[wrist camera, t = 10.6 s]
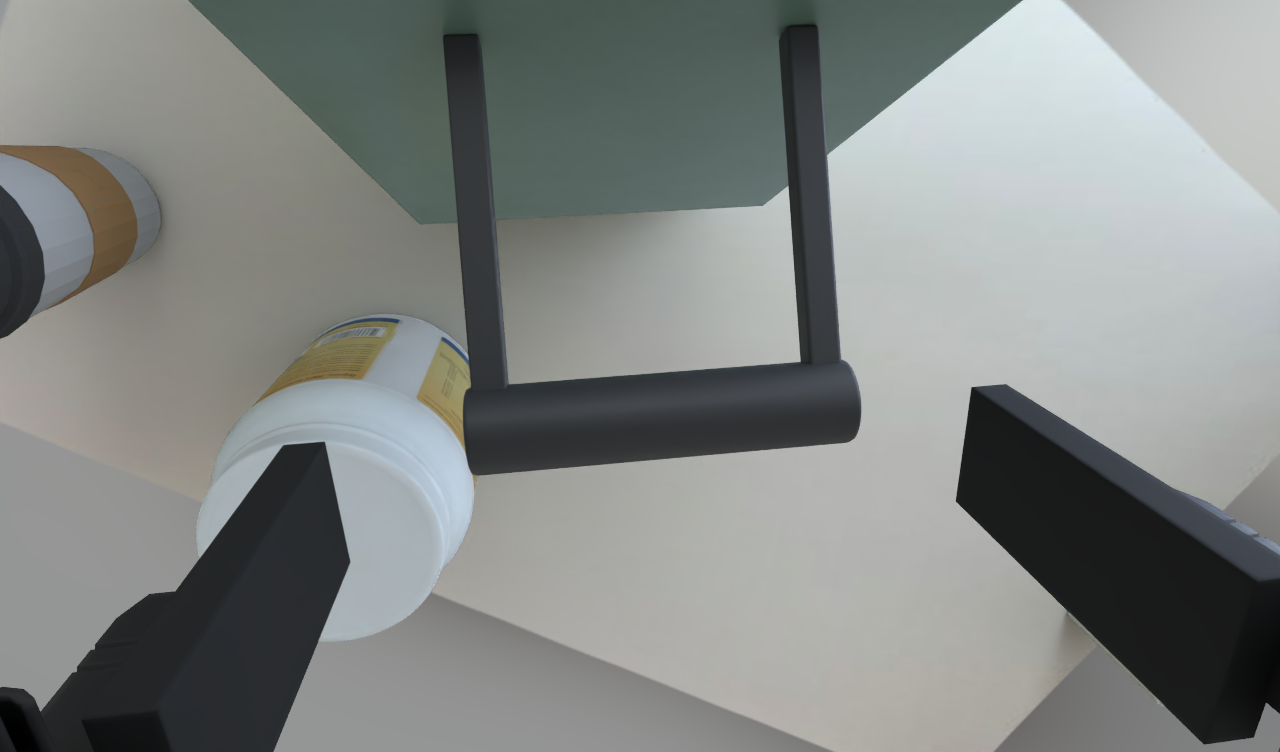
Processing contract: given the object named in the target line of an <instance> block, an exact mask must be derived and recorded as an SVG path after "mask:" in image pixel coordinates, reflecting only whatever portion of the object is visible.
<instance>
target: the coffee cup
mask: <svg viewBox="0 0 1280 752" xmlns="http://www.w3.org/2000/svg"><path fill="white" fill-rule="evenodd" d="M160 225H161V224H160V207H159V204H158V201H157V198H156V195H155V193H154V191H153V190H152V188H151V186H150V185H149V183H148V182H147V180H146V179H145V178H144V177H143V176H142V175H141V174H140V173H139V172H138V171H137V170H136V169H135V168H134V167H133V166H131V165H130V164H128V163H127V162H125V161H124V160H122V159H121V158H119V157H117V156H114V155H112V154H109V153H107V152H104V151H100V150H93V149H87V148H65V147H60V146H12V145H0V339H1V338H3V337H6V336H8V335H10V334H11V333H12V332H13V331H15V330H16V329H17V328H19V327H20V326H21V325H22V324H24V323H25V322H26V321H27V320H28V319H29V318H31V317H32V316H34V315H36V314H38V313H40V312H41V311H44V310H46V309H49V308H51V307H53V306H56V305H58V304H60V303H62V302H64V301H66V300H68V299H69V298H71V297H73V296H75V295H77V294H78V293H80V292H82V291H84V290H86V289H87V288H89V287H91V286H93V285H95V284H96V283H98V282H100V281H102V280H103V279H105V278H107V277H109V276H111V275H112V274H114V273H116V272H117V271H118V270H119V269H121V268H122V267H123V266H125V265H127V264H129V263H131V262H133V261H134V260H136V259H138V258H139V257H141V256H142V255H143V254H145V253H146V252H147V251H148V250H149V249H150V248H151V246H152V245H153V244H154V242H155V241H156V239H157V236H158V232H159V229H160Z"/></svg>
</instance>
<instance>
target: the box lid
mask: <svg viewBox="0 0 1280 752" xmlns="http://www.w3.org/2000/svg"><path fill="white" fill-rule="evenodd" d="M188 1H189V2H190V3H191V4H192V5H193V6H194V7H195V8H196V9H197V10H199V11H200V12H201V13H202V14H203V15H204V16H205V17H206V18H207V19H208V20H209V21H210V22H211V23H212V24H213V25H214V26H215V27H216V28H217V29H218V30H219V31H220V32H221V33H222V34H223V35H224V36H225V37H226V38H228V39H229V40H230V41H231V42H232V43H233V44H234V45H235V46H236V47H237V48H238V49H239V50H240V51H241V52H242V53H243V54H244V55H245V56H246V57H247V58H248V59H249V60H250V61H251V62H252V63H253V64H254V65H255V66H257V67H258V68H259V69H260V70H261V71H262V72H263V73H264V74H265V75H266V76H267V77H268V78H269V79H270V80H271V81H272V82H273V83H274V84H275V85H276V86H277V87H278V88H279V89H280V90H281V91H282V92H283V93H284V94H286V95H287V96H288V97H289V98H290V99H291V100H292V101H293V102H294V103H295V104H296V105H297V106H298V107H299V108H300V109H301V110H302V111H303V112H304V113H305V114H306V115H307V116H308V117H309V118H310V119H311V120H312V121H313V122H314V123H316V124H317V125H318V126H319V127H320V128H321V129H322V130H323V131H324V132H325V133H326V134H327V135H328V136H329V137H330V138H331V139H332V140H333V141H334V142H335V143H336V144H337V145H338V146H339V147H340V148H341V149H342V150H343V151H345V152H346V153H347V154H348V155H349V156H350V157H351V158H352V159H353V160H354V161H355V162H356V163H357V164H358V165H359V166H360V167H361V168H362V169H363V170H364V171H365V172H366V173H367V174H368V175H369V176H370V177H371V178H372V179H374V180H375V181H376V182H377V183H378V184H379V185H380V186H381V187H382V188H383V189H384V190H385V191H386V192H387V193H388V194H389V195H390V196H391V197H392V198H393V199H394V200H395V201H396V202H397V203H398V204H399V205H400V206H401V207H403V208H404V209H405V210H406V211H407V212H408V213H409V214H410V215H411V216H412V217H413V218H414V219H415V220H416V221H417V222H418V223H419V224H437V223H455V222H458V233H459V246H460V258H461V270H462V283H463V295H464V308H465V320H466V332H467V345H468V357H469V370H470V382H471V388H468V389H467V390H466V391H465V394H464V399H463V435H464V445H465V453H466V458H467V463H468V467H469V469H470V471H471V473H472V474H473V475H476V476H479V475H490V474H501V473H512V472H523V471H535V470H546V469H557V468H568V467H579V466H590V465H602V464H613V463H624V462H635V461H646V460H658V459H669V458H680V457H691V456H702V455H714V454H725V453H736V452H747V451H758V450H769V449H781V448H792V447H803V446H814V445H825V444H837V443H847V442H850V441H851V440H853V439H854V438H855V437H856V435H857V433H858V430H859V426H860V420H861V398H860V391H859V386H858V383H857V379H856V376H855V374H854V372H853V370H852V368H851V366H850V365H849V364H848V363H847V362H846V361H844V360H841V353H840V339H839V324H838V309H837V295H836V280H835V265H834V250H833V236H832V221H831V206H830V191H829V177H828V162H827V155H828V154H829V153H830V152H831V151H833V150H834V149H835V148H836V147H838V146H839V145H840V144H841V143H843V142H844V141H845V140H847V139H848V138H849V137H850V136H852V135H853V134H854V133H855V132H857V131H858V130H859V129H860V128H862V127H863V126H864V125H866V124H867V123H868V122H869V121H871V120H872V119H873V118H874V117H876V116H877V115H878V114H879V113H881V112H882V111H883V110H884V109H886V108H887V107H888V106H890V105H891V104H892V103H893V102H895V101H896V100H897V99H898V98H900V97H901V96H902V95H903V94H905V93H906V92H907V91H909V90H910V89H911V88H912V87H914V86H915V85H916V84H917V83H919V82H920V81H921V80H922V79H924V78H925V77H926V76H928V75H929V74H930V73H931V72H933V71H934V70H935V69H936V68H938V67H939V66H940V65H941V64H943V63H944V62H945V61H946V60H948V59H949V58H950V57H952V56H953V55H954V54H955V53H957V52H958V51H959V50H960V49H962V48H963V47H964V46H965V45H967V44H968V43H969V42H971V41H972V40H973V39H974V38H976V37H977V36H978V35H979V34H981V33H982V32H983V31H984V30H986V29H987V28H988V27H990V26H991V25H992V24H993V23H995V22H996V21H997V20H998V19H1000V18H1001V17H1002V16H1003V15H1005V14H1006V13H1007V12H1008V11H1010V10H1011V9H1012V8H1014V7H1015V6H1016V5H1017V4H1019V3H1020V2H1021V1H1022V0H188ZM788 185H789V198H790V213H791V227H792V242H793V256H794V271H795V285H796V299H797V314H798V328H799V343H800V357H801V362H795V363H783V364H770V365H757V366H744V367H731V368H718V369H705V370H692V371H679V372H666V373H653V374H640V375H627V376H614V377H601V378H588V379H575V380H562V381H550V382H537V383H524V384H511V385H509V384H508V372H507V359H506V347H505V334H504V321H503V309H502V296H501V284H500V271H499V258H498V246H497V233H496V221H495V220H510V219H528V218H547V217H565V216H583V215H602V214H620V213H638V212H657V211H675V210H693V209H712V208H730V207H748V206H763V205H764V204H766V203H767V202H768V201H769V200H771V199H772V198H773V197H774V196H776V195H777V194H778V193H779V192H781V191H782V190H783V189H785V188H786V187H787V186H788Z"/></svg>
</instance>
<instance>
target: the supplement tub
mask: <svg viewBox="0 0 1280 752" xmlns="http://www.w3.org/2000/svg"><path fill="white" fill-rule="evenodd" d="M468 388H471V382H470V370H469V357H468V354H467V353H466V351H465V350H464V349H463V348H462V347H461V346H460V345H459V344H458V343H457V342H456V341H455V340H454V339H453V338H451V337H450V336H449V335H448V334H446V333H445V332H443V331H442V330H440V329H438V328H437V327H435V326H433V325H431V324H429V323H427V322H425V321H423V320H420V319H417V318H414V317H410V316H405V315H396V314H373V315H366V316H361V317H357V318H353V319H350V320H347V321H344V322H341V323H339V324H337V325H335V326H333V327H331V328H329V329H327V330H326V331H324V332H323V333H321V334H320V335H319V336H317V337H316V338H315V339H314V340H313V341H311V342H310V343H309V345H308V346H307V347H306V348H305V349H304V350H303V352H302V353H301V354H300V355H299V356H298V358H297V359H296V360H295V361H294V362H293V363H292V364H291V365H290V366H289V367H288V368H287V369H286V371H285V372H284V373H283V374H282V375H281V376H280V377H279V378H278V379H277V380H276V381H275V383H274V384H273V385H272V386H271V387H270V388H269V389H268V390H267V391H266V392H265V393H264V394H263V395H262V397H261V398H260V399H259V400H258V401H257V402H256V403H255V404H254V405H253V406H252V407H251V408H250V409H249V410H248V411H247V412H246V413H245V414H244V415H243V416H242V417H241V418H240V419H239V420H238V421H237V422H236V424H235V425H234V426H233V428H232V429H231V430H230V432H229V433H228V435H227V437H226V439H225V441H224V443H223V445H222V447H221V448H220V451H219V453H218V455H217V458H216V461H215V464H214V468H213V472H212V477H211V485H210V490H209V491H208V493H207V495H206V497H205V499H204V501H203V503H202V506H201V508H200V511H199V515H198V519H197V525H196V545H197V551H198V557H199V559H200V557H201V556H202V555H203V553H204V552H205V551H206V549H207V548H208V547H209V545H210V544H211V543H212V541H213V540H214V538H215V537H216V536H217V534H218V533H219V532H220V530H221V529H222V528H223V526H224V525H225V524H226V522H227V521H228V519H229V518H230V517H231V515H232V514H233V513H234V511H235V510H236V509H237V507H238V506H239V505H240V503H241V502H242V500H243V499H244V498H245V496H246V495H247V494H248V492H249V491H250V490H251V488H252V487H253V485H254V484H255V483H256V481H257V480H258V479H259V477H260V476H261V475H262V473H263V472H264V471H265V469H266V468H267V466H268V465H269V464H270V462H271V461H272V460H273V458H274V457H275V456H276V454H277V453H278V452H279V450H280V449H281V447H282V446H283V445H289V444H301V443H313V442H324V441H325V444H326V449H327V453H328V458H329V463H330V468H331V472H332V477H333V482H334V486H335V491H336V496H337V501H338V505H339V510H340V515H341V520H342V524H343V529H344V534H345V538H346V543H347V548H348V553H349V557H350V565H349V567H348V570H347V572H346V575H345V577H344V580H343V582H342V584H341V587H340V589H339V592H338V594H337V597H336V599H335V602H334V604H333V607H332V609H331V611H330V614H329V616H328V619H327V621H326V624H325V626H324V629H323V631H322V633H321V636H320V638H319V641H318V642H339V641H340V642H341V641H349V640H355V639H359V638H364V637H367V636H370V635H373V634H376V633H379V632H381V631H384V630H386V629H388V628H390V627H392V626H393V625H395V624H397V623H399V622H400V621H402V620H403V619H405V618H406V617H408V616H409V615H410V614H412V613H413V612H414V611H415V610H416V609H417V608H418V607H419V606H420V605H421V604H422V603H423V602H424V600H425V599H426V598H427V597H428V595H429V594H430V592H431V591H432V589H433V587H434V585H435V583H436V581H437V579H438V576H439V574H440V572H441V571H442V570H443V569H444V568H445V567H446V566H447V564H448V563H449V562H450V561H451V559H452V558H453V557H454V555H455V554H456V552H457V550H458V549H459V547H460V545H461V543H462V541H463V539H464V537H465V534H466V532H467V529H468V527H469V524H470V521H471V517H472V513H473V506H474V493H475V487H476V481H477V476H476V475H473V474H472V473H471V471H470V469H469V467H468V463H467V458H466V453H465V445H464V435H463V399H464V394H465V391H466V390H467V389H468Z"/></svg>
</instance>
